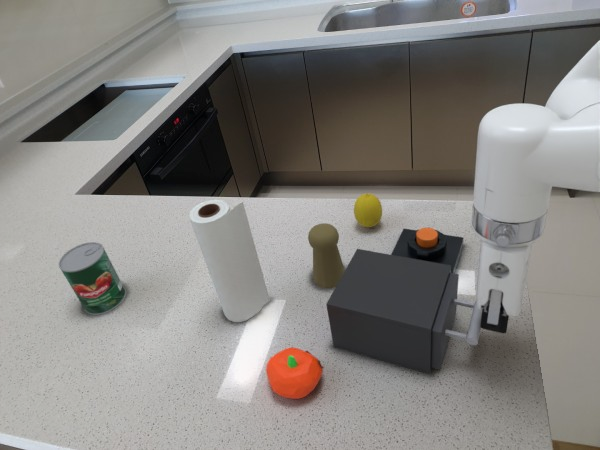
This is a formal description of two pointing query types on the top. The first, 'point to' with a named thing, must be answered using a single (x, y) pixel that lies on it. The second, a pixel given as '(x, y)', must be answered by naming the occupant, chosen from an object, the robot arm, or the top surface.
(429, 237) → the button
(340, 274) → the pepper mill
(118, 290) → the canned tomato
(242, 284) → the paper towel roll
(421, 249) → the control block
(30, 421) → the top surface
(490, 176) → the robot arm
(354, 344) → the dark grey drawer cabinet
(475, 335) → the basket drawer
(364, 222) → the lemon
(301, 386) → the pumpkin
